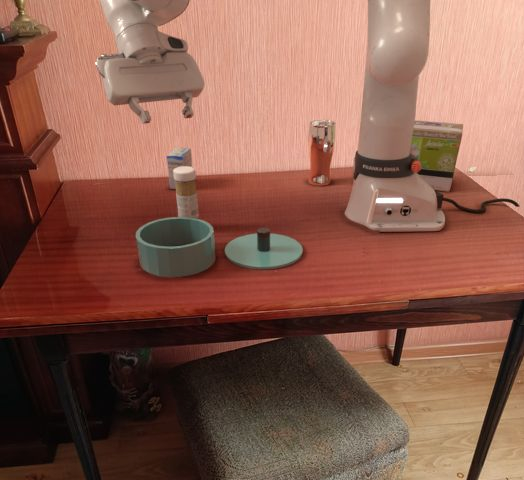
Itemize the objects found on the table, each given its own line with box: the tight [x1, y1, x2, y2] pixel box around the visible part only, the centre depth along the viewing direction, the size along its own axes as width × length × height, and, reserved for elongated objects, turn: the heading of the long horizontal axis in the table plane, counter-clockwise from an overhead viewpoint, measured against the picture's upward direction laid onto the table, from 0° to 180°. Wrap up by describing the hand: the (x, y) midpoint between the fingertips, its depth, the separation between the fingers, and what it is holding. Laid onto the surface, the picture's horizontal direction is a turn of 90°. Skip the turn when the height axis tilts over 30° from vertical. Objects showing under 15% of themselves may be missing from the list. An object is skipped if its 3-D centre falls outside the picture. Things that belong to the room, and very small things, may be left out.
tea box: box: [410, 119, 464, 193], centre depth 135 cm, size 15×10×15 cm
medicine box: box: [166, 147, 193, 190], centre depth 137 cm, size 8×4×9 cm, turn 172°
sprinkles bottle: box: [173, 166, 200, 219], centre depth 111 cm, size 5×5×14 cm
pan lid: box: [224, 227, 304, 271], centre depth 104 cm, size 16×16×5 cm
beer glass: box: [307, 119, 337, 187], centre depth 136 cm, size 7×7×15 cm
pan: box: [135, 216, 217, 278], centre depth 101 cm, size 15×15×6 cm
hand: (168, 119), depth 103 cm, fingers open, 8 cm apart
